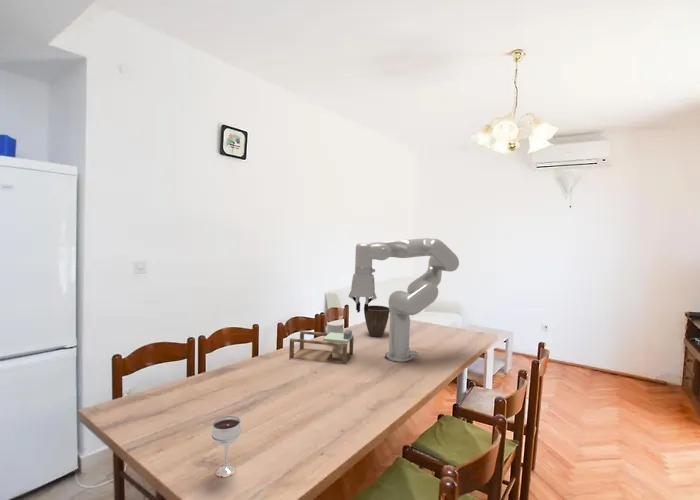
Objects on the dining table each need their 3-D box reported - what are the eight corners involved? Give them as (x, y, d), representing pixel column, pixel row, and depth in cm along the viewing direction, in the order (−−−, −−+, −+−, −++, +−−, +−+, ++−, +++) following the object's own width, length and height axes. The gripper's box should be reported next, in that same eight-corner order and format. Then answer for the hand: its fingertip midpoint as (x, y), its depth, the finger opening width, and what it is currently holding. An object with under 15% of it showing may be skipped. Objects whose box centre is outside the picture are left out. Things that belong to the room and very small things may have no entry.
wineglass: (220, 484, 87) (220, 433, 86) (205, 471, 91) (206, 422, 91) (245, 470, 92) (246, 422, 91) (230, 459, 96) (231, 413, 96)
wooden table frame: (352, 356, 179) (353, 335, 178) (345, 367, 164) (346, 344, 164) (300, 351, 184) (301, 330, 184) (289, 361, 170) (289, 339, 169)
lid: (352, 336, 176) (353, 329, 176) (347, 343, 166) (347, 335, 165) (330, 334, 179) (330, 327, 179) (323, 340, 168) (323, 333, 168)
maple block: (345, 356, 174) (345, 343, 174) (342, 359, 169) (343, 346, 169) (334, 355, 175) (335, 342, 175) (332, 358, 171) (332, 345, 170)
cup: (342, 349, 189) (343, 325, 188) (326, 348, 189) (326, 325, 189) (343, 344, 197) (343, 321, 196) (327, 344, 197) (328, 321, 197)
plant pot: (361, 331, 223) (362, 305, 223) (386, 332, 225) (387, 305, 224) (364, 339, 209) (365, 310, 208) (391, 339, 210) (392, 310, 209)
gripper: (382, 271, 170) (381, 311, 171) (347, 269, 174) (346, 309, 175) (380, 273, 163) (378, 315, 164) (343, 271, 166) (342, 312, 167)
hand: (362, 311), depth 169 cm, fingers open, 2 cm apart
